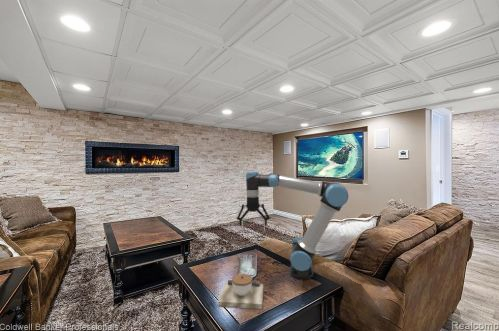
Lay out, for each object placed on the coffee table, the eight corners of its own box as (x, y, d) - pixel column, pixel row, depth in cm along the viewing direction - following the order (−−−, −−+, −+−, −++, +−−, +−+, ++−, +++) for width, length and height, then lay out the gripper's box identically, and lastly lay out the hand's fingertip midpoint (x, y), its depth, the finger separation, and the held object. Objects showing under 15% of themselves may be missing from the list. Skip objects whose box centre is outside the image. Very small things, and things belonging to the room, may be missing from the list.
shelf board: (263, 288, 128) (263, 280, 128) (261, 309, 110) (261, 299, 110) (225, 286, 130) (225, 279, 130) (218, 306, 112) (218, 297, 112)
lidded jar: (250, 300, 113) (249, 281, 113) (229, 297, 116) (229, 279, 115) (253, 288, 124) (253, 271, 124) (235, 286, 126) (235, 269, 126)
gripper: (272, 195, 142) (273, 228, 142) (233, 195, 143) (234, 229, 143) (273, 197, 134) (274, 232, 134) (231, 197, 135) (232, 232, 136)
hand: (253, 230), depth 139 cm, fingers open, 13 cm apart
